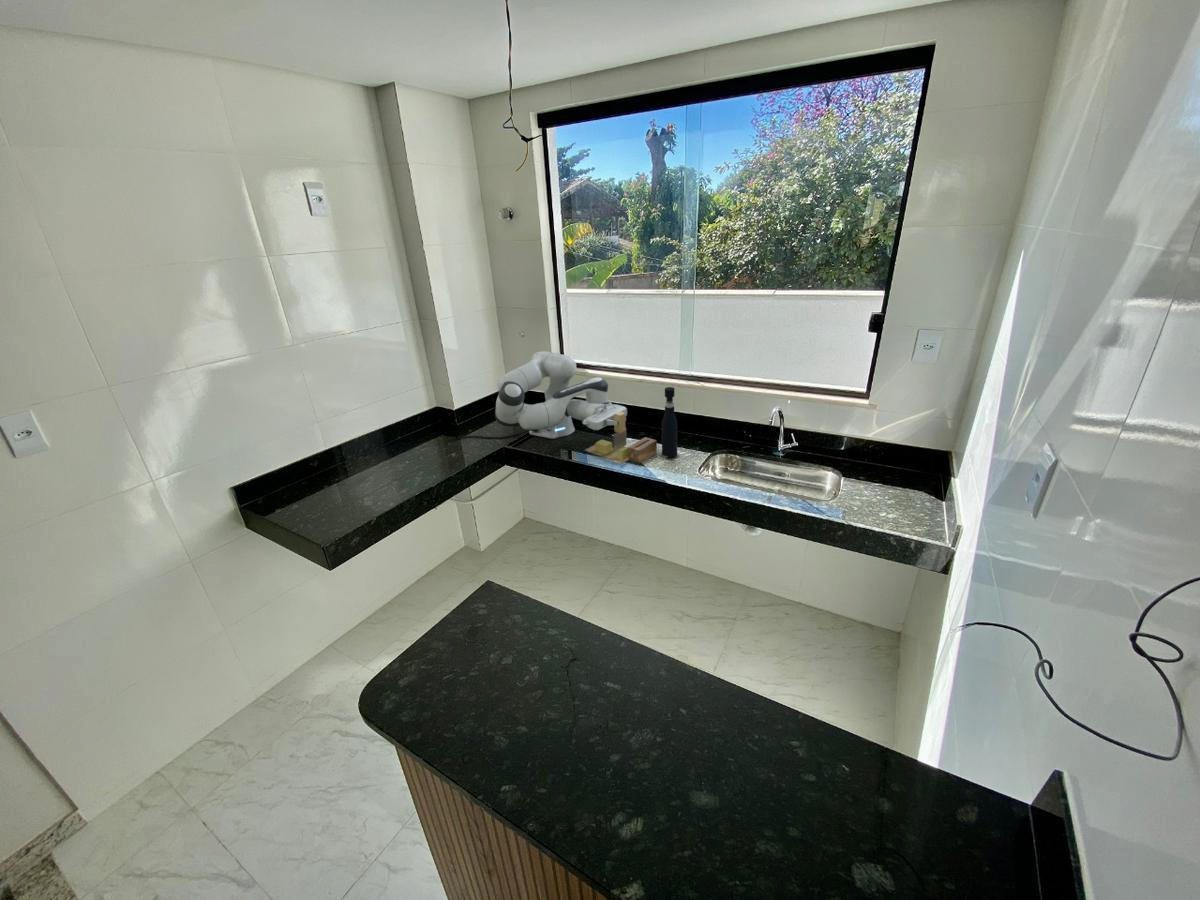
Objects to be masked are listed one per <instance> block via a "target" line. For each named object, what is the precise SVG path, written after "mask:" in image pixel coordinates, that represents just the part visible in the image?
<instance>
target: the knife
mask: <svg viewBox="0 0 1200 900" xmlns="http://www.w3.org/2000/svg"><path fill="white" fill-rule="evenodd" d="M625 417H626V416H625V413H624V412H620V411H619V412H617V413H615V414H614V420H617V421H619V424H618V425H617V426H615V425H613V427H614V428H613V429H614V432H615V433H613V434H612V439H613V440H612V441H613V442H612V447H613V448H614V451H616V450H618V449H620V448H622V447H623V446H625V447H626V446H627V427H626V421H625Z"/></svg>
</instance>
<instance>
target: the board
mask: <svg viewBox="0 0 1200 900" xmlns="http://www.w3.org/2000/svg"><path fill="white" fill-rule="evenodd" d="M612 448H613V451H611V452H610V453H608V454H603V453H600V452H597V451H596V447H595V444H593V445H591V446H589V447H587V448H585V449H584V451H585V452H588V453H591V454H594V455H597V456H599V457H601V458H605V459H608V460H611V461H614V462H617V463H620V464H624V463H625V462H628V461H630V460H629V459H628V457H626V458H624V459H623V460H621V459H618V458H617V450H616V451H614V447H612Z"/></svg>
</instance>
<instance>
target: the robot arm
mask: <svg viewBox="0 0 1200 900" xmlns="http://www.w3.org/2000/svg"><path fill="white" fill-rule="evenodd" d="M576 372H577V363H576V361H575V360H574V359H573V358H572V357H571V356H568V355H566V354H561V353H558V352H557V353H556V352H553V351H547V350H546V351H545V350H541V351H537V352H534V354H533V355H532V356H531V359H530V361H529V362H527V363H525V364H523V365H521V366H519V367H516V368H514V369H512V370H510V371H508V372H507V373H505V374H504V375H502V376H501V377H500V378H498V380H497V382H496V389H497V391H498V394H497V398H496V401H495V410H494V417H495V420H496V422H497V423H498V424H499V425H501V426H504V427H518V426H520V427H521V429H524V430H523V431H520V432H517V433H514V434H510V435H506V436H505V435H504V436H482V435H465V436H457V437H458V438H455V437H456V436H454V437H453V436H452V437H449V438H448V439H450V440H452V439H451V438H454V439H455V440H457V439H458V440H459V439H466V438H480V439H507V438H511V437H515V436H518V435H521V434H524V433H526V432H528V433H529V435H531V436H536V437H542V438H545V439H546V438H547V439H551V440H554V439H559V438H562V437H566V436H570V435H572V434H573V433H575V431H576V428H575V426H574V423H573V420H572V418H573V419H576V420H578V421H580V422H581V424H582V425H585V426H586V428H589V429H591V430H593V431H599V430H601V429H603V428H606V427H607V426H614V425H615V426H617V425H618V424H619V421H617V420H614V414H615V413H617V412H619V411H620V412H624V413H625V422H626V421H627V416H628V408H627V407H626V406H624V405H620V404H616V403H612V401H611V402H610V401H608V391H609V383H608V382H607V380H605V379H604V378H603V377H599V376H595V377H591V378H589V379H587V380H585V381H583V382H580V383H577V384H574V385H571V386H569V384H570V381H571V379H572V378H573V377H574V376H575V374H576ZM548 377H549V381H548V382H549V383H548V385H547V386H546V387H545V389H544V398H545V401H544V402H543V401H542V402H538V404H537V403H535V404H534V403H533V404H528V403H525V402H524V401H525V393H527V392H529V391H532V390H533V389H536V388H537V387H539V386H540V385H541V384H542V381H543V379H544V378H548ZM584 394H585V400H583V399H577V398H576V399H575V397H578V396H581V395H584ZM448 439H446V440H445V443H448V442H449V441H450V440H448ZM454 439H453V440H454Z"/></svg>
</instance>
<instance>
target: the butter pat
mask: <svg viewBox="0 0 1200 900" xmlns="http://www.w3.org/2000/svg"><path fill="white" fill-rule="evenodd" d="M628 447H629V446H628ZM628 447H627V446H626V445H625V446H623V447H622V448H620V449H618V450H617V458H618V459H621V460H623V459H624V458H626V457H628Z"/></svg>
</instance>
